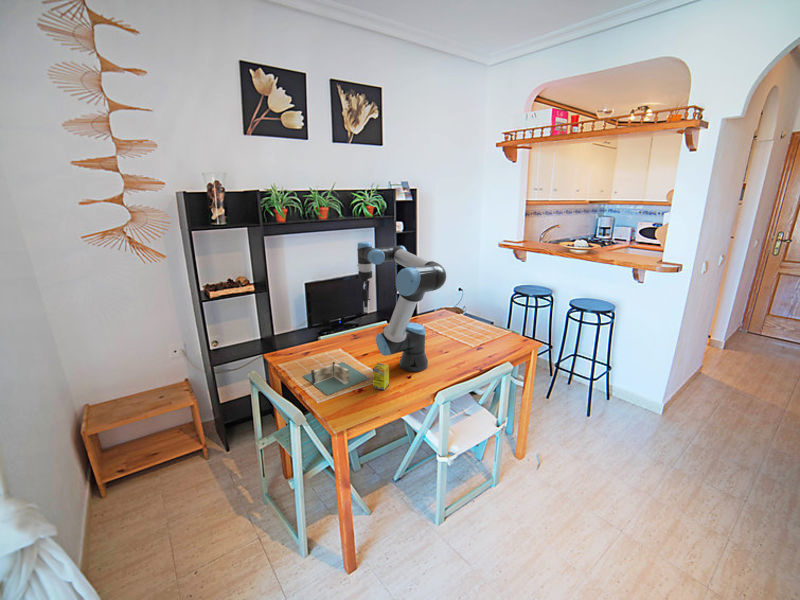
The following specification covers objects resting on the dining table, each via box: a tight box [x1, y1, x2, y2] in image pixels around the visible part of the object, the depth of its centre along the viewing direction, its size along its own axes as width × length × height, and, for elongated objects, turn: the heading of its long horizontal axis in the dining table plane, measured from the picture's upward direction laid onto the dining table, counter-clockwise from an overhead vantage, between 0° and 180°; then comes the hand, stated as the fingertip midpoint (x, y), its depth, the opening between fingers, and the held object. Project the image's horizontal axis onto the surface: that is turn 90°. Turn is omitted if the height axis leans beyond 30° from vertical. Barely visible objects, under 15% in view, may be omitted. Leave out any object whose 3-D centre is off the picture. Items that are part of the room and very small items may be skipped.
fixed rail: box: [310, 364, 333, 385], centre depth 184 cm, size 11×2×7 cm, turn 131°
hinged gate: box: [332, 361, 350, 382], centre depth 185 cm, size 11×2×7 cm, turn 49°
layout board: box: [302, 361, 370, 396], centre depth 188 cm, size 24×24×1 cm
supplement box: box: [372, 362, 390, 392], centre depth 178 cm, size 6×6×11 cm
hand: (366, 311), depth 209 cm, fingers closed
